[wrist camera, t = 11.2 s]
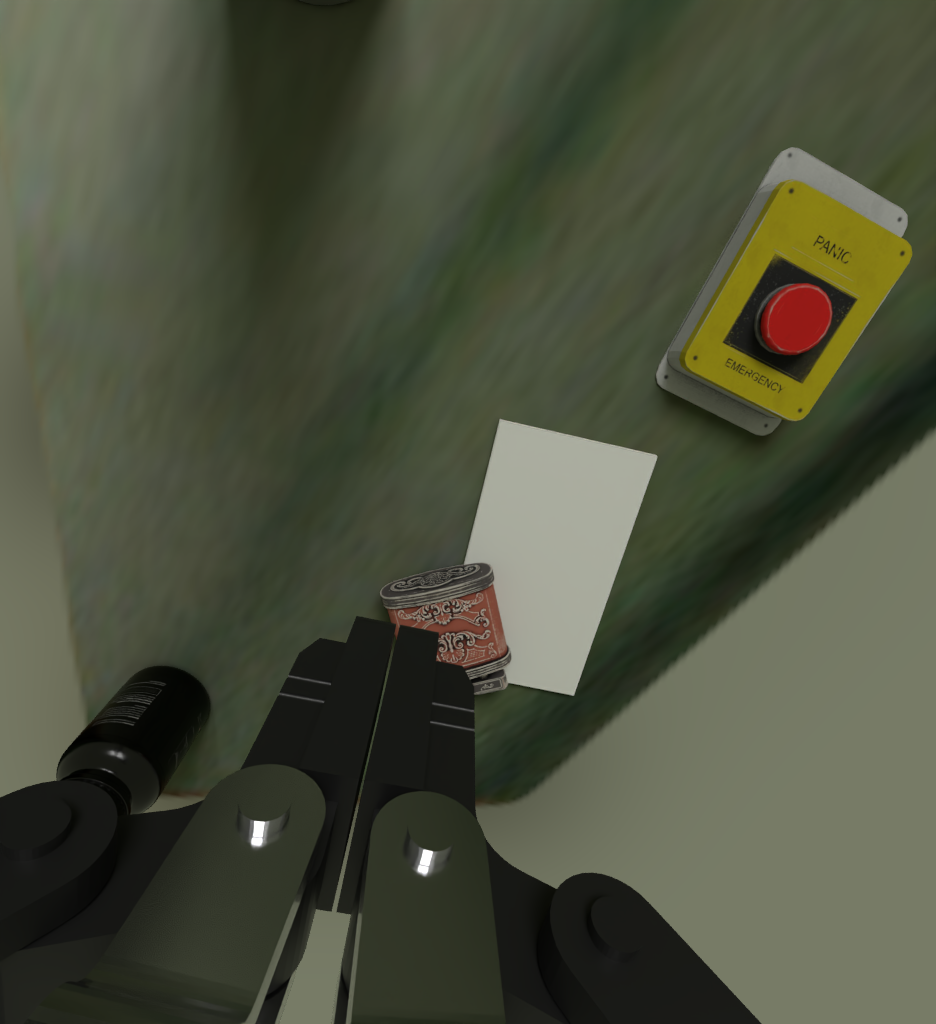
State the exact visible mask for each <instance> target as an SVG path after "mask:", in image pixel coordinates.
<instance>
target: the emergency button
mask: <svg viewBox="0 0 936 1024" xmlns="http://www.w3.org/2000/svg"><path fill="white" fill-rule="evenodd" d="M906 227H907V214H906V213H905V211H904V210H903V209H902V208H900V207H899V206H897V205H895V204H893V203H892V202H890V201H888V200H887V199H885V198H883V197H882V196H880V195H878V194H876V193H875V192H873V191H871V190H870V189H868V188H866V187H864V186H863V185H861V184H859V183H858V182H856V181H854V180H853V179H851V178H849V177H847V176H846V175H844V174H842V173H841V172H839V171H837V170H836V169H834V168H832V167H830V166H829V165H827V164H825V163H824V162H822V161H820V160H819V159H817V158H815V157H813V156H812V155H810V154H808V153H807V152H805V151H803V150H802V149H800V148H793V147H791V148H789V149H787V150H784V151H782V152H781V153H780V154H779V155H778V156H777V157H776V159H775V160H774V161H773V163H772V164H771V166H770V168H769V170H768V172H767V173H766V175H765V177H764V179H763V180H762V182H761V184H760V186H759V188H758V189H757V191H756V193H755V195H754V197H753V198H752V200H751V202H750V204H749V205H748V207H747V209H746V211H745V213H744V214H743V216H742V218H741V220H740V221H739V223H738V225H737V227H736V229H735V230H734V232H733V234H732V236H731V238H730V239H729V241H728V243H727V245H726V246H725V248H724V250H723V252H722V254H721V255H720V257H719V259H718V261H717V262H716V264H715V266H714V268H713V270H712V271H711V273H710V275H709V277H708V278H707V280H706V282H705V284H704V286H703V287H702V289H701V291H700V293H699V295H698V296H697V298H696V300H695V302H694V303H693V305H692V307H691V309H690V311H689V312H688V314H687V316H686V318H685V319H684V321H683V323H682V325H681V327H680V328H679V330H678V332H677V334H676V336H675V337H674V339H673V341H672V343H671V344H670V346H669V348H668V350H667V352H666V353H665V355H664V357H663V359H662V360H661V362H660V364H659V366H658V369H657V372H656V381H657V384H658V385H659V386H660V387H661V388H663V389H665V390H667V391H669V392H671V393H673V394H675V395H677V396H679V397H681V398H683V399H685V400H687V401H689V402H691V403H693V404H695V405H697V406H699V407H701V408H703V409H705V410H707V411H709V412H711V413H713V414H715V415H717V416H719V417H721V418H723V419H725V420H727V421H729V422H731V423H733V424H735V425H737V426H739V427H741V428H743V429H745V430H747V431H749V432H751V433H753V434H755V435H761V436H764V435H767V434H769V433H772V432H773V431H774V429H775V428H776V427H777V426H778V425H779V424H780V422H781V420H782V419H783V420H788V421H797V420H800V419H803V418H804V417H805V416H806V415H807V414H808V413H809V411H810V410H811V409H812V407H813V406H814V404H815V403H816V401H817V400H818V398H819V397H820V395H821V394H822V392H823V391H824V389H825V388H826V386H827V385H828V383H829V382H830V380H831V379H832V377H833V376H834V374H835V373H836V371H837V370H838V368H839V367H840V365H841V364H842V362H843V361H844V359H845V358H846V356H847V355H848V353H849V352H850V350H851V349H852V347H853V346H854V344H855V343H856V341H857V340H858V338H859V337H860V335H861V334H862V332H863V331H864V329H865V328H866V326H867V325H868V323H869V322H870V320H871V319H872V317H873V316H874V314H875V313H876V311H877V310H878V308H879V307H880V305H881V304H882V302H883V301H884V299H885V298H886V296H887V295H888V293H889V292H890V290H891V289H892V287H893V286H894V284H895V283H896V281H897V280H898V278H899V277H900V275H901V274H902V272H903V271H904V269H905V268H906V266H907V265H908V263H909V262H910V259H911V256H912V249H911V246H910V244H909V243H908V242H907V241H906V240H904V239H902V238H901V237H902V236H903V234H904V232H905V229H906Z"/></svg>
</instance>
